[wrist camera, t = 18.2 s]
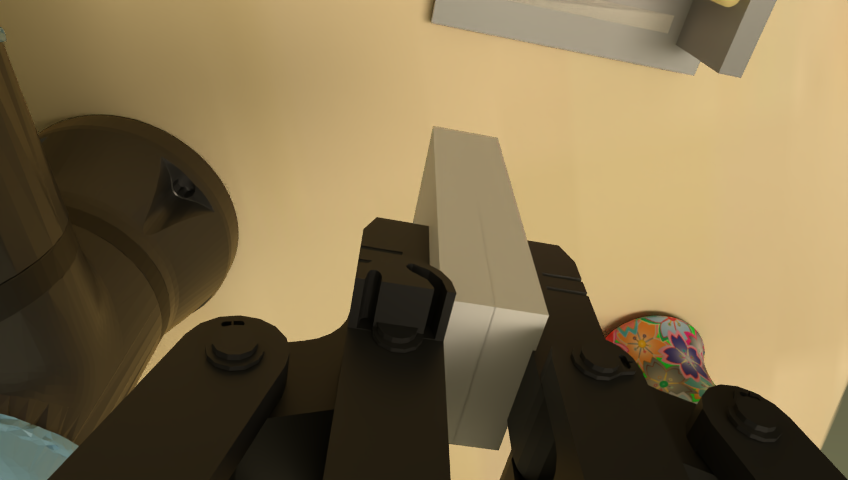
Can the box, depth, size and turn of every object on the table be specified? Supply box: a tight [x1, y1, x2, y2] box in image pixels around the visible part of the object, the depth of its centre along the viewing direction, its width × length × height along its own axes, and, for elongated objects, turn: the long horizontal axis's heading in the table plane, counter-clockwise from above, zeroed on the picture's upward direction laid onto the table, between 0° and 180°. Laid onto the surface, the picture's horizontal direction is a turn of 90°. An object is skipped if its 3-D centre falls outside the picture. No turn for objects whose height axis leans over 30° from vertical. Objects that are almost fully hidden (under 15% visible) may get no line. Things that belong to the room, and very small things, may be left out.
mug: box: [605, 316, 716, 404], centre depth 45 cm, size 12×9×11 cm
